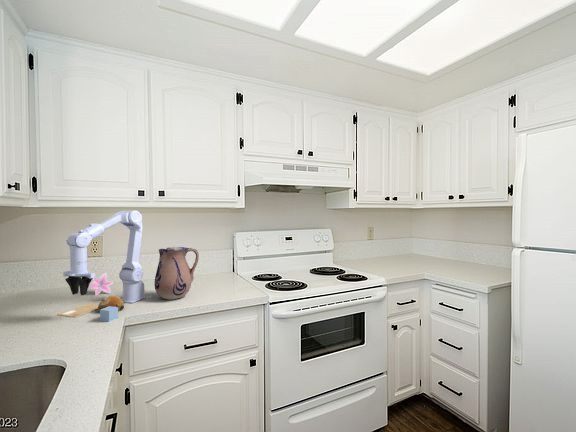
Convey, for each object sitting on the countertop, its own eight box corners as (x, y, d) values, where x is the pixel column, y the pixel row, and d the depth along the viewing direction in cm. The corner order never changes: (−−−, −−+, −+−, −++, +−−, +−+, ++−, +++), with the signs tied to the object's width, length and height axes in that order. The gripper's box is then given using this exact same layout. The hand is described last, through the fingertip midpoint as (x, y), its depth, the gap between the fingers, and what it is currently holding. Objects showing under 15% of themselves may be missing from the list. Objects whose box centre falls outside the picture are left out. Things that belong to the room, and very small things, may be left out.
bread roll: (118, 313, 140) (113, 297, 141) (131, 307, 135) (126, 290, 137) (96, 320, 131) (91, 303, 132) (110, 313, 126) (104, 295, 128)
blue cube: (109, 316, 125) (109, 306, 125) (118, 317, 124) (118, 307, 124) (100, 320, 121) (99, 309, 121) (109, 321, 120) (108, 310, 120)
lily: (81, 298, 154) (85, 283, 151) (89, 284, 164) (93, 270, 161) (107, 302, 159) (111, 288, 156) (113, 288, 169) (117, 275, 166)
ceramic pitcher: (153, 295, 156) (153, 247, 156) (195, 289, 166) (194, 244, 165) (155, 304, 141) (155, 251, 140) (201, 298, 150) (201, 248, 150)
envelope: (90, 303, 142) (90, 302, 142) (107, 305, 140) (107, 304, 140) (57, 315, 127) (57, 314, 127) (75, 317, 124) (75, 316, 124)
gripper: (55, 262, 122) (56, 295, 123) (83, 264, 119) (84, 298, 119) (72, 259, 129) (72, 291, 130) (99, 261, 126) (99, 293, 126)
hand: (79, 294), depth 125 cm, fingers open, 4 cm apart
